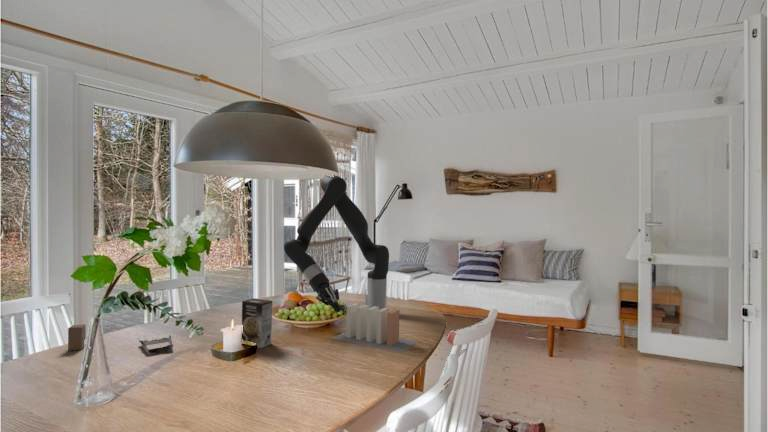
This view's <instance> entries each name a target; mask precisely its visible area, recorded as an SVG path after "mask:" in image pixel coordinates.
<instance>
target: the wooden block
mask: <svg viewBox="0 0 768 432" xmlns="http://www.w3.org/2000/svg"><path fill="white" fill-rule="evenodd" d="M86 327H87V326H86V324H84V323H82V324H72V325H71V326H70V327H68V330H67V335H68V338H67V350H68V351H69V352H70V351H72V350H73V351H82V350H83V349H84V348H85V347H84V340H85V338H86V330H87V329H86Z"/></svg>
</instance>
